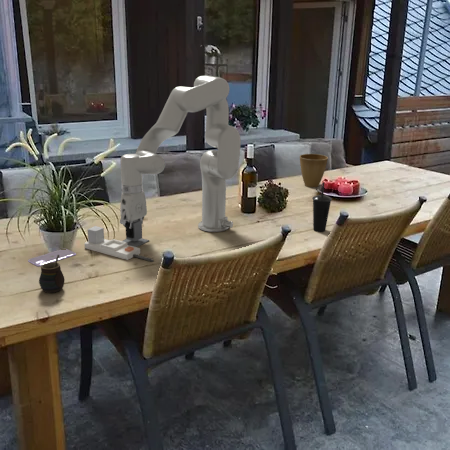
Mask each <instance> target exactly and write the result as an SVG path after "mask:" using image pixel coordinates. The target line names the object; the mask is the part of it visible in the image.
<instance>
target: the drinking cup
mask: <svg viewBox="0 0 450 450" xmlns="http://www.w3.org/2000/svg"><path fill="white" fill-rule="evenodd" d="M321 186H322V187H321V194H317V195H314V196H312V211H313V212H312V219H313V220H312V222H313V223H312V224H313V225H312V226H313V231H314V232H317V233H324V232H326V228H327V223H328V218H329V213H330V206H331V203H332V197H330V196H328V195H325V194H324V188H325V182H322V185H321Z"/></svg>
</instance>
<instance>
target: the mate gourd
mask: <svg viewBox="0 0 450 450" xmlns="http://www.w3.org/2000/svg"><path fill="white" fill-rule="evenodd" d="M58 258H59V255H57V258H56V261H55V262H49V263H45V264H43V265H41V266H40V275H39V279H38V284H39V286H40V289H41V290H42V291H43V292H45V293H47V294H53V293H56V292H57V293H58V292H60V291H61V290H62V288H64V285H65V276H64V274H63V271H62V268H61V264H60V263H58Z"/></svg>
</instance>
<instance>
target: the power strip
mask: <svg viewBox="0 0 450 450" xmlns="http://www.w3.org/2000/svg"><path fill="white" fill-rule="evenodd" d="M104 231H105V229H104V227H100V226H97V225H94V226H92V227H90V228H87V241H85V242H84V249H87V250H90V251H94V252H97V253H99V254H100V253H101V254H104V255H108V256H112V257H116V258H119V259H122V260H126V261H128V260H130V259H132V258H137V259H140V260H144V261H148V262H151V263H152V262H154V261H155V260H154V259H153V258H150V257H148V256H143V255H140V254H141V248H140V247H133V246H129V245H127V242H123V240H119V239H114V238H112V239H106V238H105V232H104Z"/></svg>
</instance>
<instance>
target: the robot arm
mask: <svg viewBox="0 0 450 450" xmlns="http://www.w3.org/2000/svg"><path fill="white" fill-rule="evenodd" d="M229 94H230V85H229V83H228V81H227V80H226V79H224V78H223V77H219V76H212V75H199V76H198V77H197V78H195V80H194V82H193V87H191V86H184V85H183V86H182V85H181V86H176V87H175V88H173V89H172V90H171V91H170V94H169V96H168V99H167V100H166V103H165V104H164V107H163V109H162V111H161V113H160V114H159V117H158V119H157V120H156V123H155V124H154V125H153V126H151V128H150V129H148V131H147V132H146V133H145V134H144V136H143V137H142V138H141V140H140V142H139V145H138V146H137V149H136V152H135V153H127V154H126V153H125V154H123V155H121V156H120V181H121V195H120V204H119V205H120V219H119V224H120V225H123V227H124V228H125V238H126V237H128V238H134V235H133V228H132V223H133V221H135V220H137V219H138V220H142V225H144V224H143V223H144V219H145V217H146V216H147V213H148V210H147V200H146V193H145V191H144V186H143V175H158V174H161V173H162V172H163V171H164V169H165V167H166V163H165V159H164V158H163V157H162V156H161V155H160V154H158V153H157V151H158V149H159V148H160V146H161V145H162V144H163V143H164V142H165V141H166V140H168V139H170V138H171V137H174V136H175V135H177V134H178V133H179V132H180V129H181V127H182V125H183V123H184V121H185V119H186V117H187V116H188V113H197V112H200V111H203V110H205V109H206V121H205V133H204V134H205V135H204V136H205V137H204V139H205V142H206V143H207V144H208V145H209V146H210V147H212V148H216V149H217V150H215V149H210V150H207V151H205V152H203V154H202V155H201V157H200V162H199V163H200V164H199V167H200V172H201V180H202V181H201V185H202V187H201V190H202V193H201V196H202V197H201V206H202V207H201V221H200V222H198V224H197V226H198V229H200V230H201V231H204V232H208V233H209V232H211V233H216V232H217V233H218V232H224V231H227V230H228V229H229V228H230V229H231V228H233V225H234V222H233V221H230V220H229V218H228V216H226V206H227V205H226V203H227V196H226V195H227V194H226V193H227V182H226V181H227V180H231V179H233V178H234V177H235V176H236V174H238V173H237V172H238V171H239V165H240V155H241V144H242V142H241V135H240V132H239V131H238V129H237V128H235V126H233V125H229V115H230V114H229V112H230V110H229V108H230V107H229V103H228V100H227V98H228V96H229ZM128 221H129V223H128Z"/></svg>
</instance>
